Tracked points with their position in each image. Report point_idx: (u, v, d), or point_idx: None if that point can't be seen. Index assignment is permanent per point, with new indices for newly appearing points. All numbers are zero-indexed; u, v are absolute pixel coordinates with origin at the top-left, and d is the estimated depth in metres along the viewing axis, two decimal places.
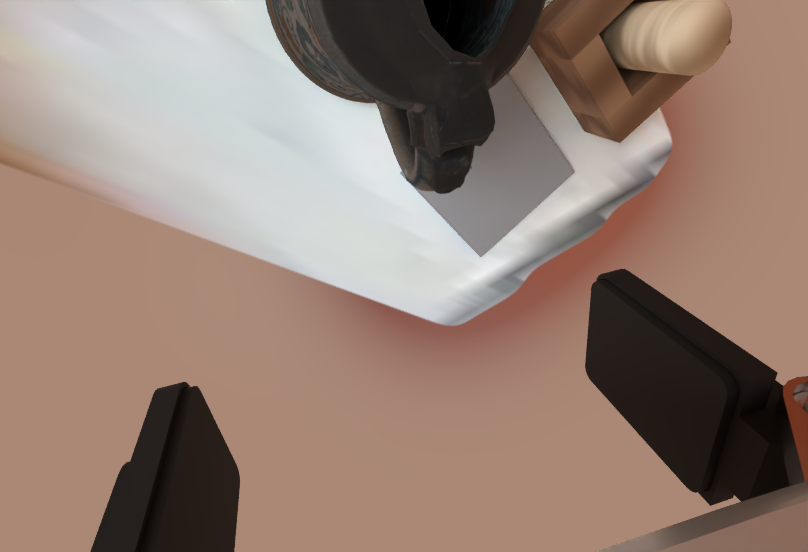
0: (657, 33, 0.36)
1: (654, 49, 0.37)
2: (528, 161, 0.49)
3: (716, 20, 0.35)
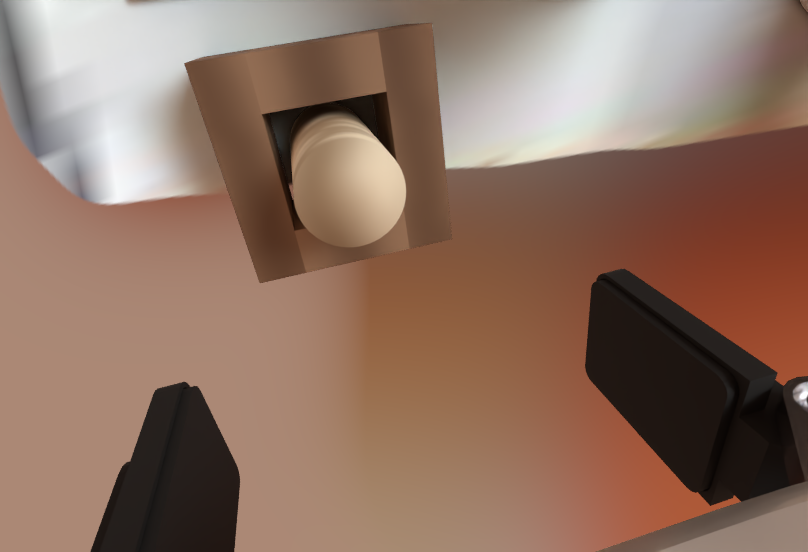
0: (380, 143, 0.23)
1: (358, 132, 0.22)
2: None
3: (361, 224, 0.23)
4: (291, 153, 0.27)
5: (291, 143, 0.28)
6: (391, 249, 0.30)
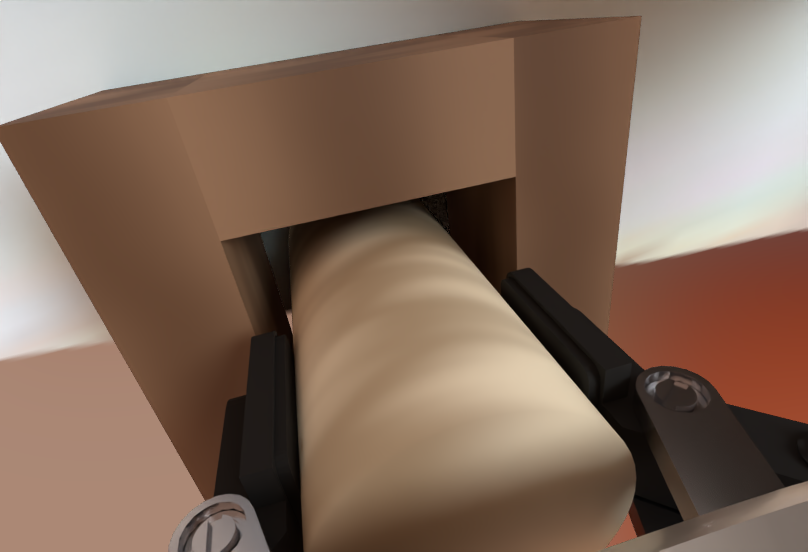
0: (552, 360, 0.08)
1: (497, 340, 0.07)
2: None
3: None
4: (292, 307, 0.12)
5: (292, 268, 0.14)
6: None
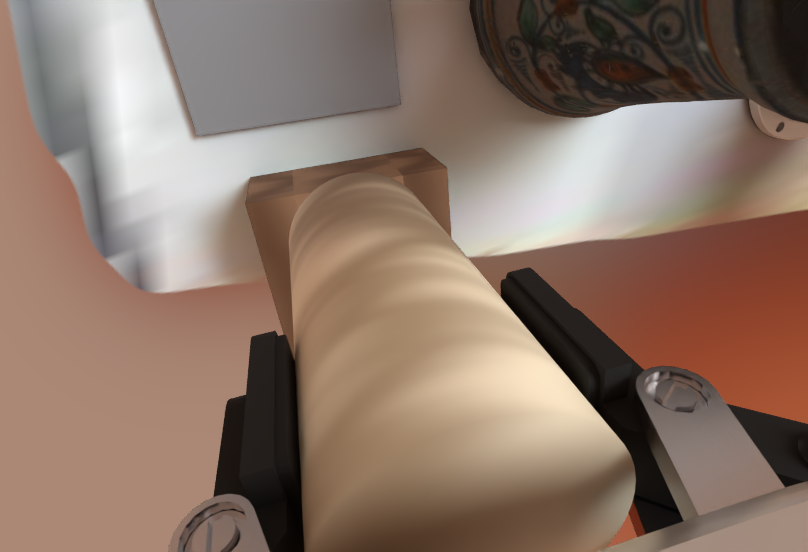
0: (551, 363, 0.08)
1: (497, 342, 0.07)
2: (259, 71, 0.30)
3: None
4: (293, 308, 0.12)
5: (292, 270, 0.14)
6: None
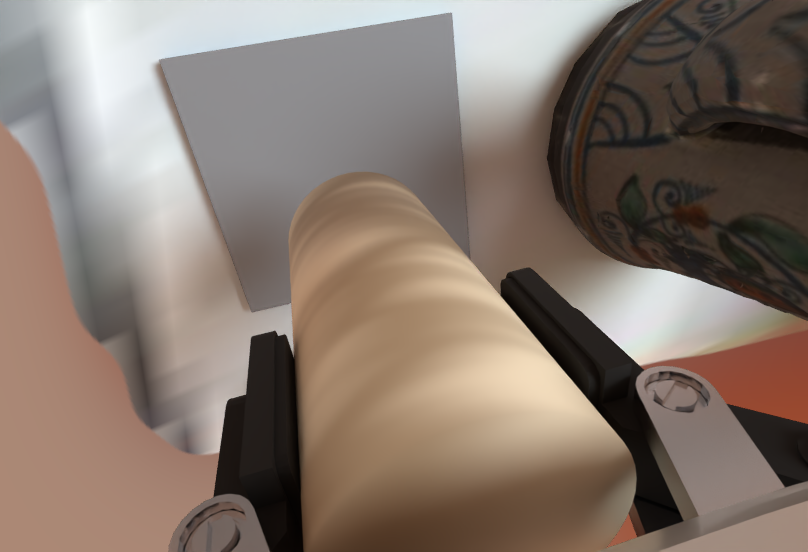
0: (552, 361, 0.08)
1: (497, 340, 0.07)
2: None
3: None
4: (292, 308, 0.12)
5: (292, 269, 0.14)
6: None
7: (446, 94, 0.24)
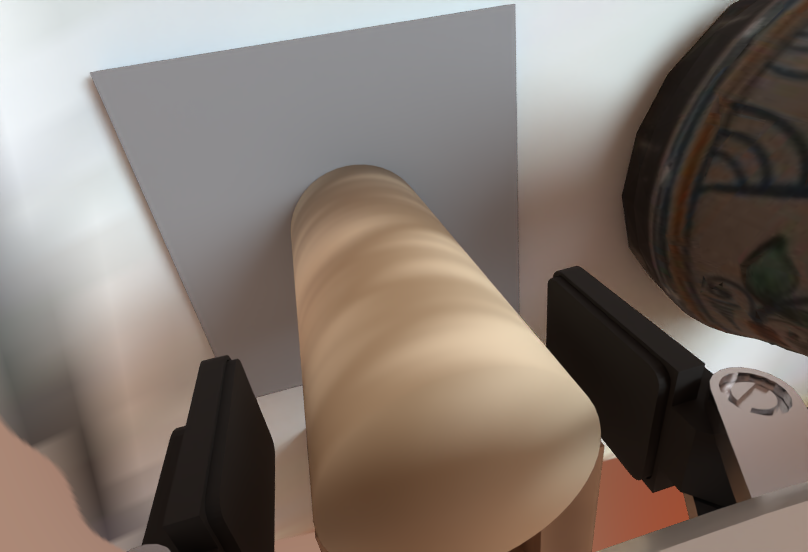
0: (528, 330, 0.09)
1: (479, 311, 0.08)
2: None
3: (480, 531, 0.09)
4: (296, 290, 0.13)
5: (295, 256, 0.15)
6: None
7: (501, 118, 0.18)
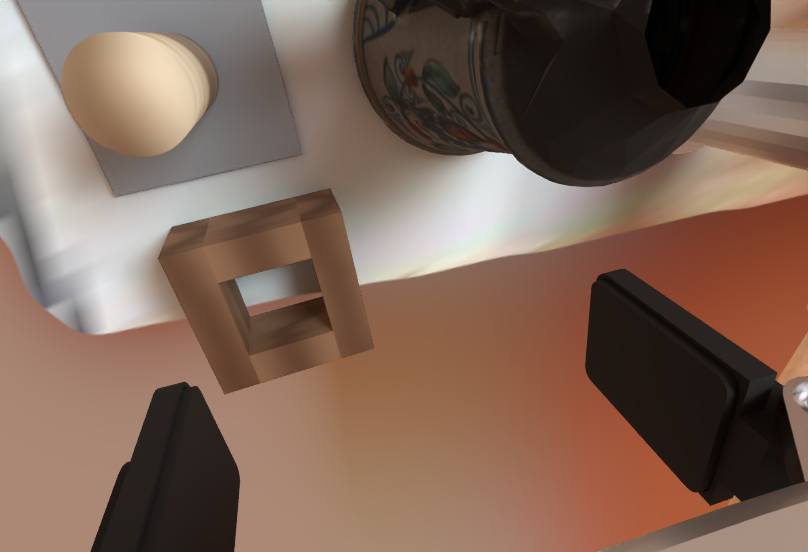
0: (164, 45, 0.22)
1: (138, 33, 0.21)
2: None
3: (149, 130, 0.22)
4: None
5: None
6: (326, 360, 0.39)
7: (252, 6, 0.31)
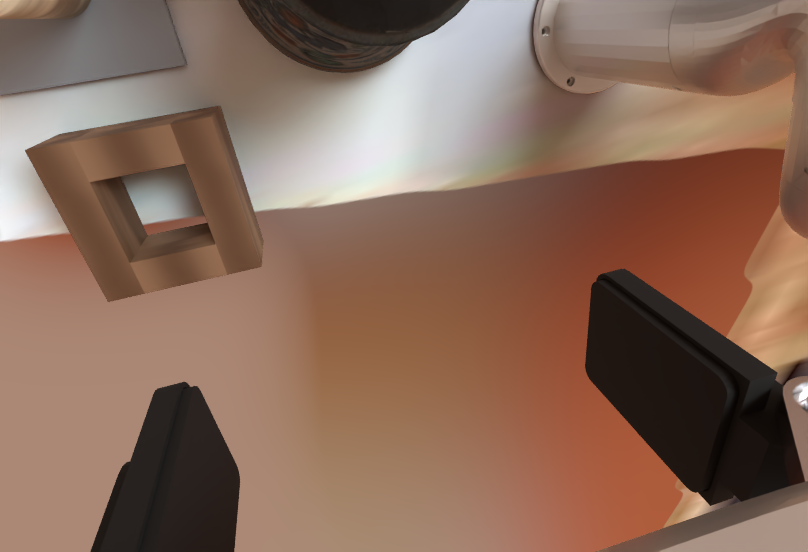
0: None
1: None
2: (43, 37, 0.34)
3: None
4: None
5: None
6: (212, 275, 0.40)
7: None
